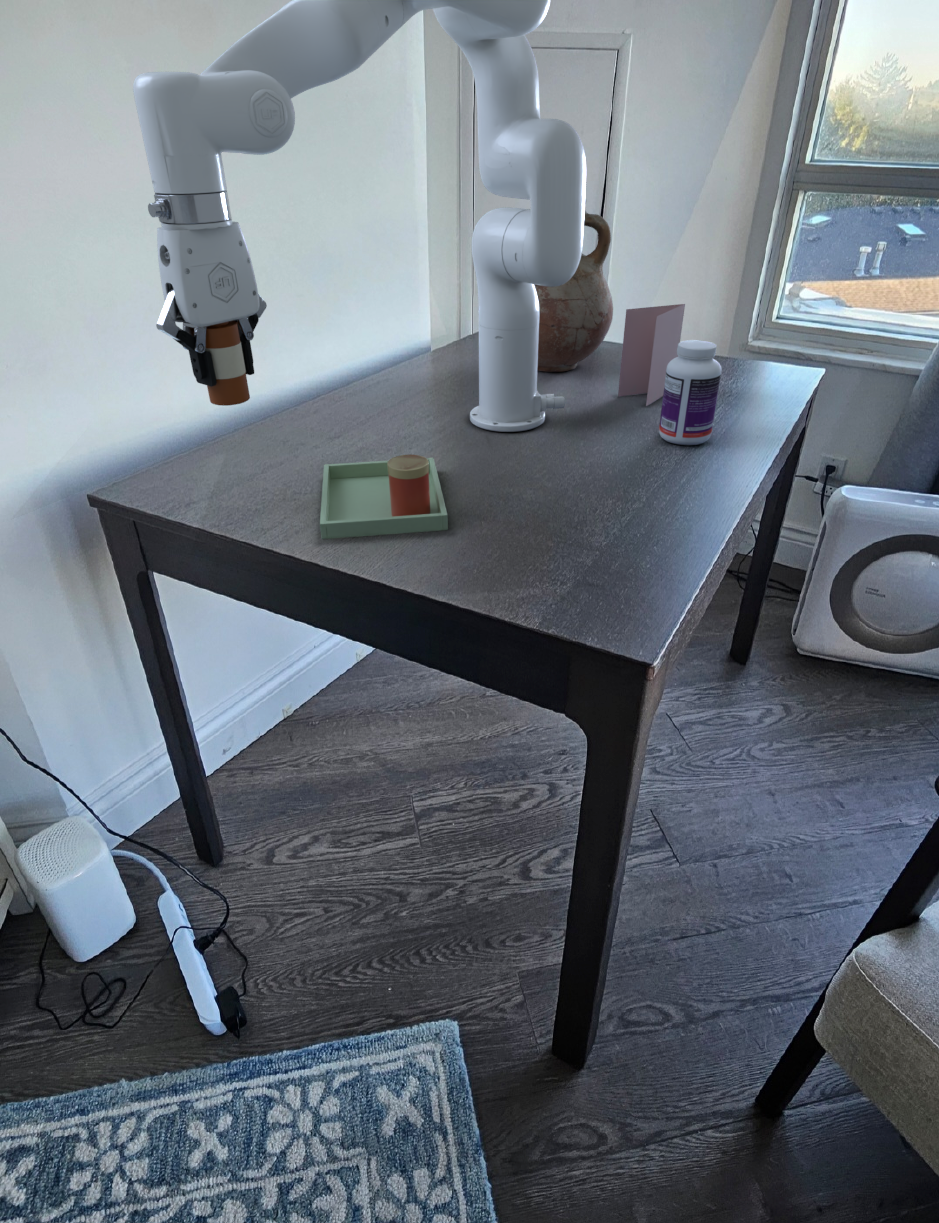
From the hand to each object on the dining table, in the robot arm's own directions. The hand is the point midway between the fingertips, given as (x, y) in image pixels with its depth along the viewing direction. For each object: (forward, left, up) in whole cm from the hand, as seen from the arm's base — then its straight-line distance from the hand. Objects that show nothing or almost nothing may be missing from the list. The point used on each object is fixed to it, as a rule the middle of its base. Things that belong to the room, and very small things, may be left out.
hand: (225, 376), depth 92 cm
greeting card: (-68, -33, -17) cm, 77 cm away
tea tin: (-21, +8, -16) cm, 28 cm away
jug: (-55, -56, -17) cm, 80 cm away
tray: (-18, +4, -17) cm, 25 cm away
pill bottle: (-66, -13, -17) cm, 69 cm away
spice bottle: (0, 0, -3) cm, 3 cm away
